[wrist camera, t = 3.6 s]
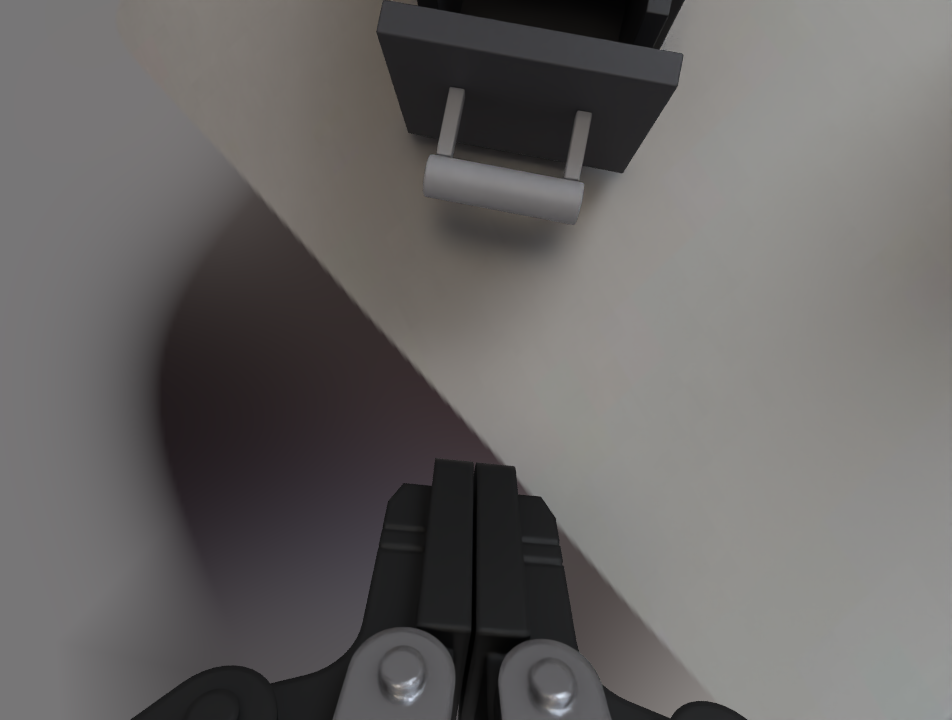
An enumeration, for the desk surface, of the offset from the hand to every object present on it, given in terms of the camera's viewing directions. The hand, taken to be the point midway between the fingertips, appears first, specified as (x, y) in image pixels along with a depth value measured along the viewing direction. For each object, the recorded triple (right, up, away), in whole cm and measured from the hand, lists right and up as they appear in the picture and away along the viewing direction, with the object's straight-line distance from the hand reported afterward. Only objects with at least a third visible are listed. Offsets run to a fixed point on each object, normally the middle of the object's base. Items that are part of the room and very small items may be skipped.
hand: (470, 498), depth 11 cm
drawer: (+3, +16, +16) cm, 23 cm away
